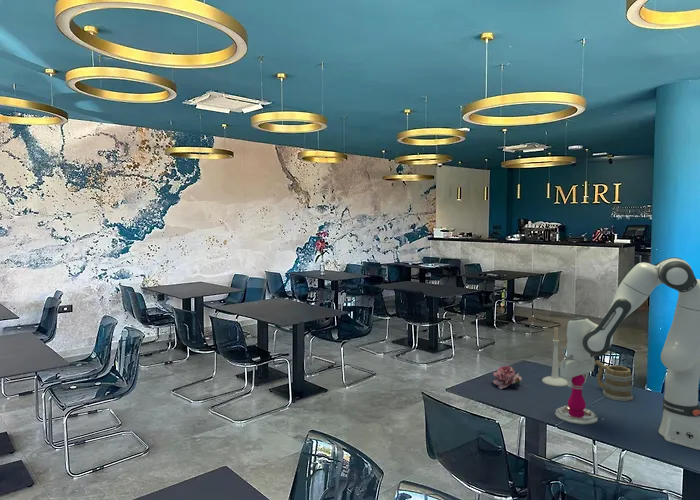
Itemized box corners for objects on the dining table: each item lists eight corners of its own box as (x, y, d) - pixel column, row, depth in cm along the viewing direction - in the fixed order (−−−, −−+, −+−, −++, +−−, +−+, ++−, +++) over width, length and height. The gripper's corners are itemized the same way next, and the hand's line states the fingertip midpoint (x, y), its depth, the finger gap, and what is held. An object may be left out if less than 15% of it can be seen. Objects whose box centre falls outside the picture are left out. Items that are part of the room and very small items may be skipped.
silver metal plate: (605, 418, 212) (605, 414, 212) (582, 427, 203) (582, 423, 203) (570, 406, 227) (570, 402, 227) (547, 414, 218) (547, 409, 218)
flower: (497, 373, 266) (498, 358, 262) (524, 382, 257) (526, 366, 254) (487, 388, 255) (488, 373, 251) (515, 398, 246) (516, 382, 243)
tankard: (638, 398, 235) (639, 368, 234) (619, 402, 231) (620, 371, 230) (603, 385, 254) (604, 357, 253) (585, 389, 249) (585, 360, 248)
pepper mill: (587, 418, 211) (588, 372, 210) (569, 417, 212) (570, 372, 211) (582, 411, 218) (583, 367, 217) (565, 410, 219) (566, 367, 218)
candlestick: (572, 386, 254) (573, 329, 252) (547, 386, 254) (548, 329, 252) (561, 378, 266) (563, 324, 264) (538, 378, 266) (539, 324, 265)
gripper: (569, 359, 205) (569, 391, 206) (597, 351, 216) (596, 382, 217) (556, 355, 211) (555, 387, 211) (584, 348, 221) (583, 378, 222)
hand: (576, 384), depth 214 cm, fingers open, 8 cm apart
